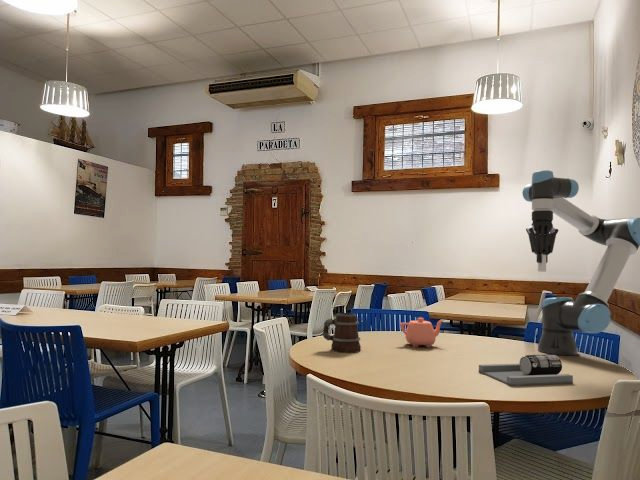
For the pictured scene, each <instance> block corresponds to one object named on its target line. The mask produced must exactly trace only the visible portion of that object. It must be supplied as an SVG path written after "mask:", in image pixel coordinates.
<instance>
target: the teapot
mask: <svg viewBox="0 0 640 480" xmlns="http://www.w3.org/2000/svg"><path fill="white" fill-rule="evenodd" d="M416 319H417V320H410V321H409V322H401V323H399V329H400V330H401V331H402V333H403V334H404V335H405V340H406V342H407V343H408V344H409V345H410V346H411V345H412V348H419V346H425V348H432V345H434V344H435V342H436V338H437V337H438V336H439V335H440V331H441V330H440V329H441V326H442V323H443V322H444V321H445V319H441V320H438V321H437V323H436V327H435V329H434V326H433V324H432V322H431V321H428V320H425V319H424V317H417V318H416ZM405 326H407V328H406V329H405Z"/></svg>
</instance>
